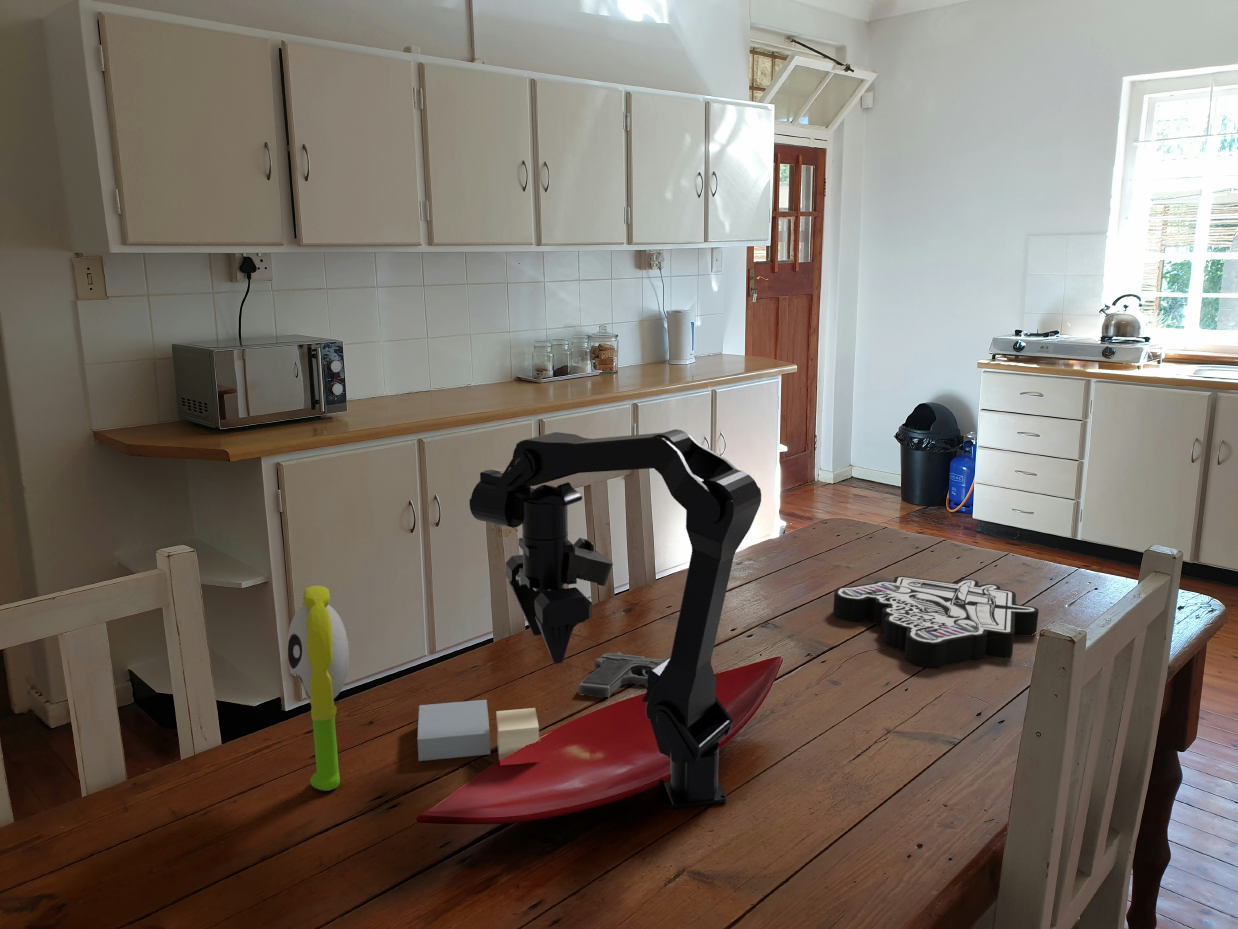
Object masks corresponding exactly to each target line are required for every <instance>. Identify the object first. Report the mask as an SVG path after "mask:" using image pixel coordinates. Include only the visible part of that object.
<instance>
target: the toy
mask: <svg viewBox="0 0 1238 929" xmlns="http://www.w3.org/2000/svg"><path fill="white" fill-rule="evenodd" d="M302 599H303V602H302V606H301V607H299V609H298V610H297V611H296V612H295V614H294V616H293V618H292V620H291V621H290V625H289V630H288V634H287V642H286V644H287V645H286V647H287V648H286V649H287V650H286V653H287V662H288V663H287V664H288V668H289V672H290V674H291V675H293V676H297V679H298V681H299V682H300V684H301V685H302V686H301V687H303V690H304V692H305V697H306V700H307V701H309V703H310V704H309V705H310V706H311V708H310V713H311V715H310V717H311V719H312V730H313V741H314V754H315V756H314V757H315V765H316V766H315V767H316V772H315V773H314V774H313V775H312V776H311V778H310V779H309V780H310V781H309V782H310V785H311V786H312V787H313V788H314V789H316V790H319V791H324V792H326V791H331V790H334V789H336V788H338V786H339V785H340V782H341V776H340V771H339V759H338V744H337V743H338V742H337V732H336V731H337V730H336V716H337V709H338V708H337V706H336V705H335V700H334V699H335V698H336V697H338V695H339V694H340V693H341V691H342V689H343V688H344V686H345V683H346V680H347V678H348V672H349V663H350V649H349V648H350V646H349V640H348V636H347V635H348V634H347V631H346V628H345V625H344V623H343V620H342V619H341V617H340V615H339V614H338V612H337V611H336V610H335V609H334V608H333V607H332V606H331V605H330V602H331V595H330V589H329V588H327V587H326V586H323V585H312V586H308V587H306V588H305V589H304V591H303V598H302Z"/></svg>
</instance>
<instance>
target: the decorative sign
mask: <svg viewBox="0 0 1238 929" xmlns="http://www.w3.org/2000/svg"><path fill="white" fill-rule="evenodd" d="M1016 598H1017V594H1016V592H1014V591H1012V590H1010V589H1009V590H1008V589H1001V587H1000V585H998V584H994V583H986V584H984V583H983V584H981V585H979V581H978V580H975V579H970V578H965V579H960V580H958V581H956V582H950V581H942V580H934V579H928V578H927V579H926V578H920V577H919V578H918V577H911V576H905V575H903V576H902V575H898V576H895V577H894V579H893V581H889V580H880V581H875V582H871V583H864V584H859V585H853V586H852V585H851V586H840V587H837V588H836V589H834V594H833V607H832V608H833V609H832V614H833V617H835V618H836V619H838V620H841V621H845V622H852V623H861V622H862V623H863V622H866V621H872V622H873V623H874V625H876V626H878V627H880V634H881V635H882V636H883V639H882V640H883V644H884V645H886V646H887V647H890V648H893V649H895V650H898V651H901V652H904V660H905V662H906V663H907V664H910V665H911V666H914V667H919V668H923V669H929V670H936V669H941V668H943V667H945V666H948V665H953V664H954V665H955V664H958V663H959V664H960V663H964V662H969V661H980V660H983V659H985V657H986V656H990V657H994V656H995V657H996V658H1001V657H1002V658H1003V659H1007V658H1006V657H1010V658H1011V656H1013V649H1014V641H1015V636H1014V635H1032V634H1034V633H1035V632H1036V633H1037V629H1038V620H1039V611H1040V610H1039V609H1038V608H1037V607H1034V606H1029V605H1022V604H1016V602H1017V601H1016ZM1032 636H1033V635H1032Z"/></svg>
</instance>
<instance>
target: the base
mask: <svg viewBox="0 0 1238 929" xmlns="http://www.w3.org/2000/svg"><path fill="white" fill-rule="evenodd" d="M488 709H489V708H488V700H487V699H481V700H480V699H479V700H467V701H454V702H443V703H432V704H431V703H430V704H420V705H418V720H417V722H418V725H417V753H418V762H422V761H433V760H434V761H435V760H442V759H443V760H446V759H454V758H465V757H474V756H475V757H476V756H487V755H491V731H490V721H489V710H488Z"/></svg>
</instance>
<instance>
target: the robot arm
mask: <svg viewBox="0 0 1238 929" xmlns="http://www.w3.org/2000/svg"><path fill="white" fill-rule="evenodd" d="M650 469H654V470H655V471H656V472H657V473H658V474H659V475H660V476H661V478H662V479H663V481H664V484H665V485H666V487H667V490H668V491H669V493H670V495H671V497H672V498H673V499H674V500H675V501H676V502H677V503H678V504H679V505H680V506H682V508H683V509H685V531H686V533H687V535H688V536H687V537H688V539H689V543H690V545H691V546H690V547H691V555H690V559H689V565H688V569H687V574H686V580H685V585H684V589H683V595H682V597H681V604H680V609H679V614H678V618H677V623H676V627H675V633H674V637H673V642H672V648H671V652H670V656H669V657H667V660H665V661H664V662H662V663H661V664H659V665H658V666H656V667H655V668H653V669H652V670H650V672H649V675H648V680H647V686H646V692H645V695H644V696H643V698H642V699H641V701H642V702H643V703H646V704H645V715H646V718H647V720H649V721H650V725H651V728H652V730H653V735H654V737H655V738H654V739H655V740H656V741H655V742H656V744H657V748H658V751H659V753H660V754H661V755H665V756H666V757H668V758H669V759H670V764H669V765H670V766H669V767H670V768H669V773H670V775H671V779H670V781H668V782H666V783H663V785H664V787H665V790H666V792H667V795H668V797H669V799H670V801H671V804H672V806H673V807H674V808H683V807H693V806H694V807H695V806H700V805H701V806H702V805H703V806H704V805H710V804H720V803H725V802H727V801H728V796H727V793H725V790H724V788H723V786H722V785H721V782H720V781H719V763H720V762H719V760H720V759H719V758H720V756H719V754H720V741H721V740H722V739H723V738H725V737H726V736H728V734H730V731H731V729H732V728H733V725H734V718H732V716H730V714H729V712H728V711H727V710H726V709H725V706H723V705H722V703H721V701H720V700H719V699H718V697H717V696H716V695H717V692H716V691H717V677H716V675H715V672H714V669H713V665H712V658H713V652H714V648H715V647H714V646H715V643H716V640H717V634H718V630H719V625H720V620H721V616H722V611H723V607H724V602H725V598H726V593H727V589H728V583H729V580H730V575H731V571H732V566H733V563H734V562H733V561H734V558H735V554H736V552H737V550H738V549H739V547H740V545H741V544H742V542H743V540H744V539H745V537H746V536H747V534H748V533H749V531H750V529H751V527H752V526H753V523H754V520H755V518H756V516H757V514H758V511H759V508H760V506H761V502H762V490H761V487H759V486H758V484H757V482H756V481H755V479H754V477H752V476H751V474H749V473H747V472H745V471H743V470H741V469H738V468H737V467H736V466H735V465H733V463H731V462H730V461H729V460H728V459H727V458H725V457H723V456H722V455H720V454H719V453H717V452H715V451H713V450H711V449H709V448H708V447H705V446H704V445H702V444H700V443H699V442H698V441H697V440H696V439H694V437H693V436H691V434H690V433H688V432H686V431H684V430H681V429H675V428H674V429H671V430H668V431H664V432H657V433H656V432H655V433H644V434H643V433H642V434H631V435H620V436H609V437H599V438H597V437H596V438H589V437H582V436H581V435H578V434H573V433H567V432H560V431H559V432H557V431H555V432H551V433H547V434H542V435H538V436H534V437H530V438H527V439H523V440H520V441H519V442H517V443H516V444H515V448H514V450H513V452H512V459H511V460H510V462H509V463H508V464H507V466H506V468H505V470H504V471H503V472H500V470H499V471H498V470H496V469H488V470H487V469H486V470H484V471H480V473H479V481H478V482H477V484H476V485H475V486H474V488H473V489H472V493H471V497H470V498H469V501H468V502H469V504H468V505H469V510H470V512H471V515H472V516H473V518H475V519H476V520H478V521H482V522H485V523H490V524H494V525H499V526H503V527H506V528H507V527H508V528H513V529H514V528H518V527H520V526H521V525H522V528H521V529H522V537H519V538H517V539H518V546H519V547H520V549H521V550H522V554H517V555H511V557H509V558H508V559H507V561H506V562H505V577H506V578H507V580H508V583H509V586H510V587H511V590H512V592H513V594H514V596H515V598H516V600H517V602H518V605H519V607H520V609H521V610H522V611H521V612H523V616H524V618H525V620H526V622H527V623H528V626H529V628H530V630H531V632H532V634H533V636H541V635H542V638H543V641H544V643H545V645H546V649H547V650H548V653H549V656H550V658H551V660H552V663H553V664H554V665H557V664H558V665H559V664H562V663H563V662H564V658H565V655H566V652H567V649H568V645H569V641H570V638H571V636H572V633H573V630H574V628H575V627H576V626H577V625H579V624H581V623H584V622H586V621H587V620H590V619H591V618H592V617H593V602H592V601H591V600H590V599H589V598H588V597H587V596H586V595H585V594H584V593H583V592H582V591H581V590H580V589H579V588H577V587H576V586H573V587H568V588H565V587H564V585H565V584H566V585H567V586H569V585H574V584H575V585H576V584H577V583H578V580H582V581H585V582H591V583H594V584H597V585H598V586H601V587H605V586H606V584H607V582H608V580H609V576H610V573H611V570H612V568H613V564H614V563H613V561H612V560H610V558H608V557H607V556H606V555H605V554H603V553H601V552H600V551H598V550H595V548H594V546H595V545H594V543H593V542H592V541H591V540H589V539H587V538H584V537H583V538H582V537H579V538H577V540H576V541H575V542H574V543H572V542H571V541H570V540H569V531H568V530H569V525H568V524H569V523H568V522H569V519H568V518H569V517H568V516H569V515H568V510H569V509H568V508H569V507H568V506H570V505H573V504H575V503H578V502H581V501H582V500H583V496H582V495H581V493H579V491H578V490H577V489H575V488H574V487H573V486H572V484H571V482H568V481H567V482H564V483H561V484H558V485H557V486H555V485H549V484H547V483H549V482H552V481H556V480H560V479H563V478H566V477H569V476H570V477H571V476H573V475H576V474H580V473H583V474H584V473H596V472H597V473H598V472H599V473H602V472H614V471H615V472H616V471H617V472H619V471H632V470H633V471H635V470H650ZM699 478H700V479H701V480H700V479H699ZM535 486H536V487H535ZM533 487H535V488H533Z"/></svg>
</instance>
